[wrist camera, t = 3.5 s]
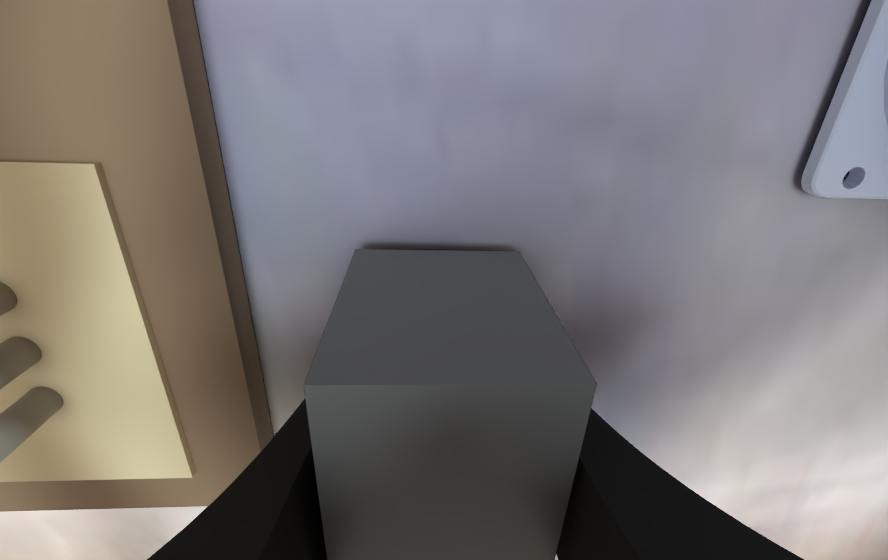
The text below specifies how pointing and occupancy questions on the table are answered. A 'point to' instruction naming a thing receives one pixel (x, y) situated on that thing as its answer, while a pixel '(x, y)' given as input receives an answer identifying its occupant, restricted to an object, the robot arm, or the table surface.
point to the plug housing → (445, 410)
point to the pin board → (118, 265)
